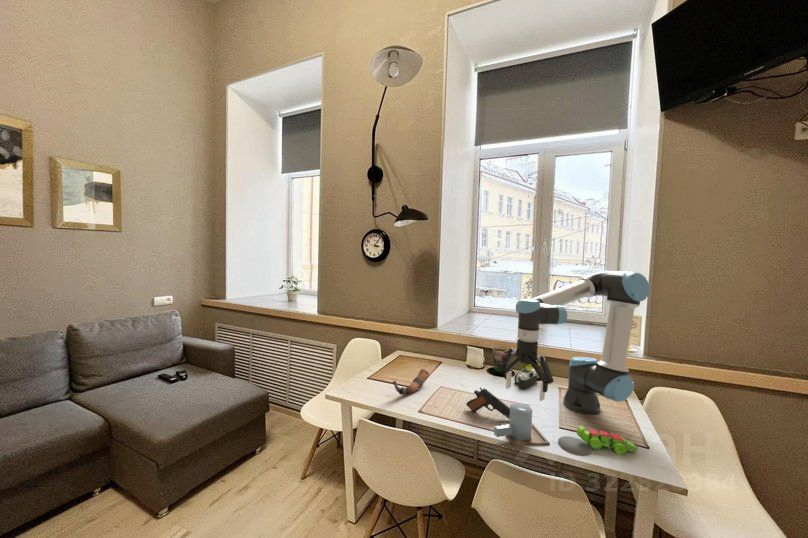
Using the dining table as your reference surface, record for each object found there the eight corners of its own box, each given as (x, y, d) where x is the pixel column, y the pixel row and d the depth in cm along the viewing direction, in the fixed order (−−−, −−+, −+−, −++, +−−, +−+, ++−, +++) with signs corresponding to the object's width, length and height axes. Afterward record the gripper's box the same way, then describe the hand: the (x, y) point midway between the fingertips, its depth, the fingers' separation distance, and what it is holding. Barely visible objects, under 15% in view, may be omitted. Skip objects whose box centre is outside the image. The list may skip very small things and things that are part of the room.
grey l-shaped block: (521, 429, 127) (522, 402, 127) (535, 440, 119) (536, 412, 119) (489, 435, 122) (490, 407, 122) (501, 447, 115) (502, 417, 114)
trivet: (579, 438, 123) (579, 436, 123) (598, 456, 112) (598, 453, 112) (552, 438, 123) (552, 436, 122) (568, 456, 112) (568, 454, 112)
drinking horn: (430, 385, 170) (431, 366, 169) (397, 404, 146) (398, 383, 146) (421, 382, 173) (422, 364, 173) (388, 401, 149) (388, 380, 149)
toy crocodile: (630, 449, 118) (633, 433, 118) (639, 459, 111) (641, 443, 111) (572, 435, 123) (575, 420, 122) (577, 445, 116) (580, 429, 116)
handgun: (466, 403, 145) (479, 383, 142) (503, 433, 137) (518, 413, 134) (464, 405, 143) (478, 385, 140) (502, 436, 135) (517, 415, 132)
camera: (524, 379, 182) (525, 362, 182) (539, 384, 176) (540, 366, 175) (510, 386, 172) (511, 368, 171) (525, 391, 165) (526, 373, 165)
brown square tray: (531, 425, 132) (532, 422, 132) (549, 445, 118) (549, 442, 118) (499, 425, 131) (499, 423, 131) (512, 445, 117) (513, 443, 117)
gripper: (493, 334, 129) (490, 385, 130) (557, 348, 111) (553, 408, 112) (503, 331, 134) (500, 381, 135) (565, 345, 116) (561, 402, 117)
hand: (524, 393), depth 124 cm, fingers open, 13 cm apart
